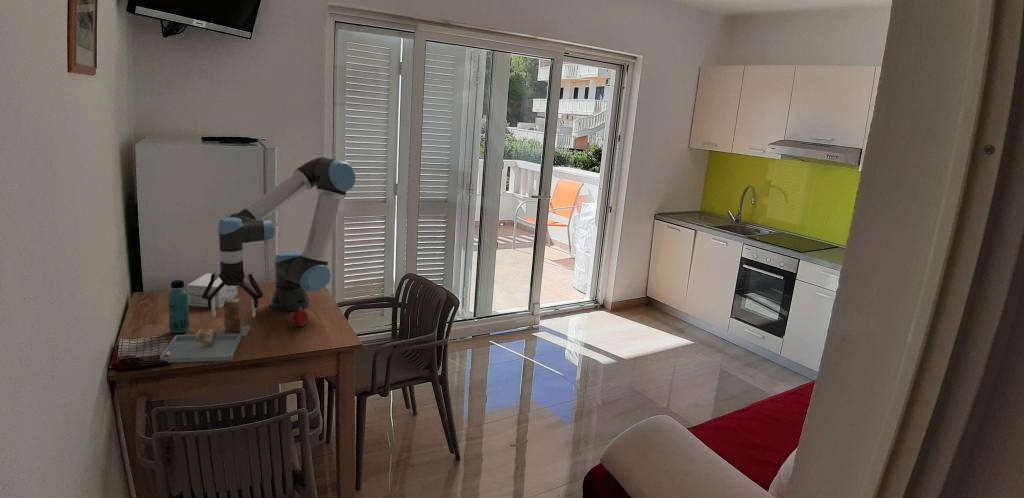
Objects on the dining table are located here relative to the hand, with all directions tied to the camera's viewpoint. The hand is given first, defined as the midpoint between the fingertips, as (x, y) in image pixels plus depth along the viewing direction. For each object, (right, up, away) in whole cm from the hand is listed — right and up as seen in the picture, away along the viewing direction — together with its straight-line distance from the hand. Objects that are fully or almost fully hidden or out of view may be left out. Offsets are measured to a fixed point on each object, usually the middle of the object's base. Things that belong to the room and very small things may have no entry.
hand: (234, 316), depth 219 cm
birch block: (-4, -9, -12) cm, 15 cm away
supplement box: (-24, +3, +32) cm, 40 cm away
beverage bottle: (-18, -6, -3) cm, 19 cm away
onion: (+20, -6, +12) cm, 24 cm away
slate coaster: (-1, -6, +1) cm, 6 cm away
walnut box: (-1, -6, +1) cm, 6 cm away
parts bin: (-3, -10, -16) cm, 19 cm away
